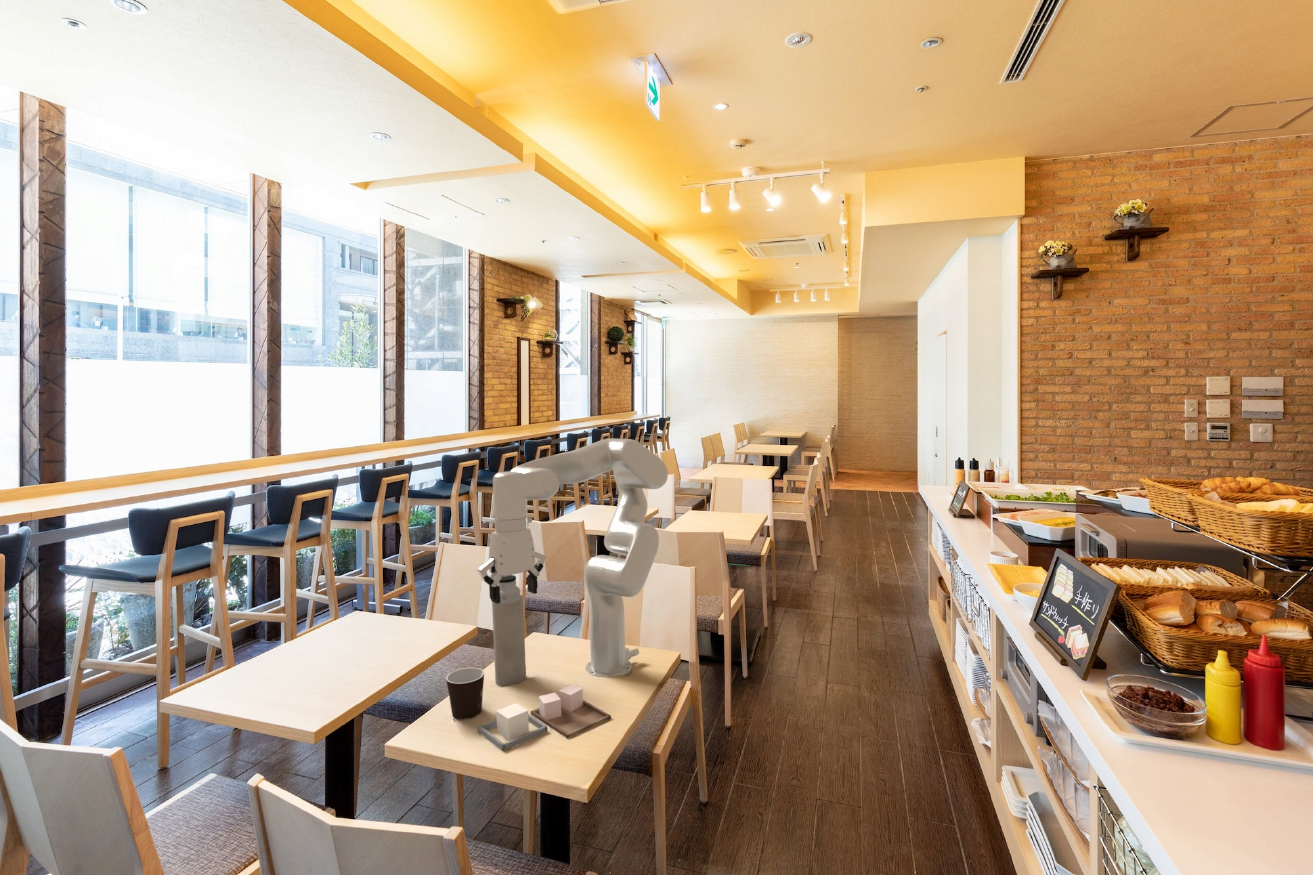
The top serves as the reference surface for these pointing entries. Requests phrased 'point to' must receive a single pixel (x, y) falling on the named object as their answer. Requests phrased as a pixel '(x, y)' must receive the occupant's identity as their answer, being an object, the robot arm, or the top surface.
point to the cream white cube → (512, 721)
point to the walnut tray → (574, 719)
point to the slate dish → (504, 746)
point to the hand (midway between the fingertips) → (514, 597)
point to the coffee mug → (465, 692)
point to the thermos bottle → (509, 634)
